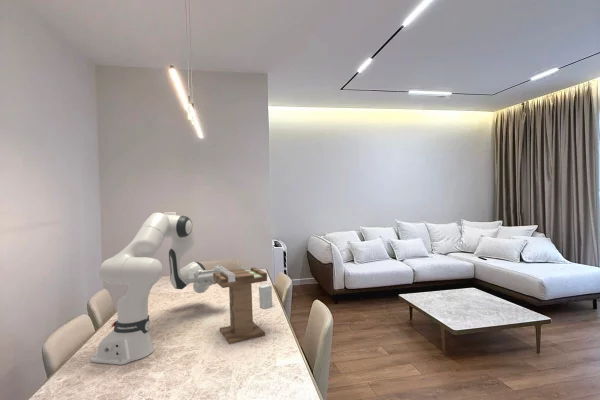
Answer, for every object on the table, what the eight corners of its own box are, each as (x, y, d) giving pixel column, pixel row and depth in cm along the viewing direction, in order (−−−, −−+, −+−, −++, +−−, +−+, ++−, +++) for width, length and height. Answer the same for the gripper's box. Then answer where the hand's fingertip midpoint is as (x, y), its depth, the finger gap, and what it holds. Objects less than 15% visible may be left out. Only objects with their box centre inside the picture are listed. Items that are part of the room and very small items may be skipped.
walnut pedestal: (215, 332, 155) (213, 272, 155) (256, 323, 164) (254, 267, 164) (224, 345, 141) (222, 279, 141) (269, 334, 150) (266, 273, 150)
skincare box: (267, 305, 192) (267, 284, 192) (272, 306, 189) (271, 285, 189) (259, 307, 188) (258, 286, 188) (264, 309, 185) (263, 287, 184)
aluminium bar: (213, 271, 165) (213, 265, 165) (219, 270, 166) (219, 264, 166) (228, 282, 142) (228, 275, 142) (235, 281, 143) (235, 274, 143)
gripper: (183, 276, 180) (187, 267, 169) (221, 270, 190) (227, 262, 179) (185, 287, 177) (188, 279, 167) (223, 281, 187) (229, 273, 176)
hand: (208, 270), depth 173 cm, fingers open, 8 cm apart
